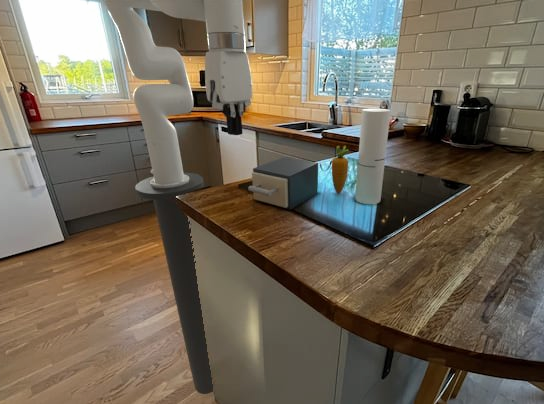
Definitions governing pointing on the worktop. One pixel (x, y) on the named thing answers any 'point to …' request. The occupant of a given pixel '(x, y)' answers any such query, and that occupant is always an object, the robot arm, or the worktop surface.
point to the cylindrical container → (372, 155)
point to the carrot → (339, 170)
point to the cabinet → (294, 178)
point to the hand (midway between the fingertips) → (235, 134)
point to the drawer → (270, 189)
